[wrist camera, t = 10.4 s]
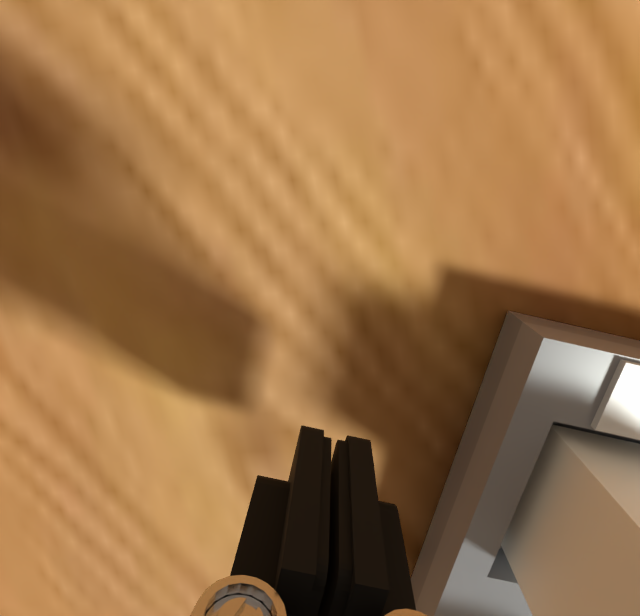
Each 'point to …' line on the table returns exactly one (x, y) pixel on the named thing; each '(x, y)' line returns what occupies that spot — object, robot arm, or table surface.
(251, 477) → the table surface
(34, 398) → the table surface
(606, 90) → the table surface
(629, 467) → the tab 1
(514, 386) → the switch bank
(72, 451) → the table surface
